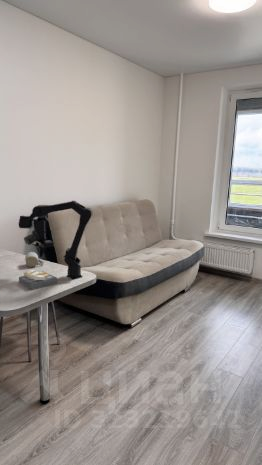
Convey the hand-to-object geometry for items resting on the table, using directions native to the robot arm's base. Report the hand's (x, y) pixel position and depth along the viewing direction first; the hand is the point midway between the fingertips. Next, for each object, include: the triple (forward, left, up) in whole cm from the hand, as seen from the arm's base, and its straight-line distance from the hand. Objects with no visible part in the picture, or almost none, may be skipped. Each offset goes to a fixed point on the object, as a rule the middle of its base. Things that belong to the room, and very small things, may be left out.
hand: (40, 256), depth 175 cm
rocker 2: (+8, +8, -6) cm, 13 cm away
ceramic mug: (-7, -20, -11) cm, 24 cm away
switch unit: (+6, +8, -11) cm, 15 cm away
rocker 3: (+8, +13, -6) cm, 16 cm away
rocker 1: (+8, +4, -6) cm, 11 cm away
